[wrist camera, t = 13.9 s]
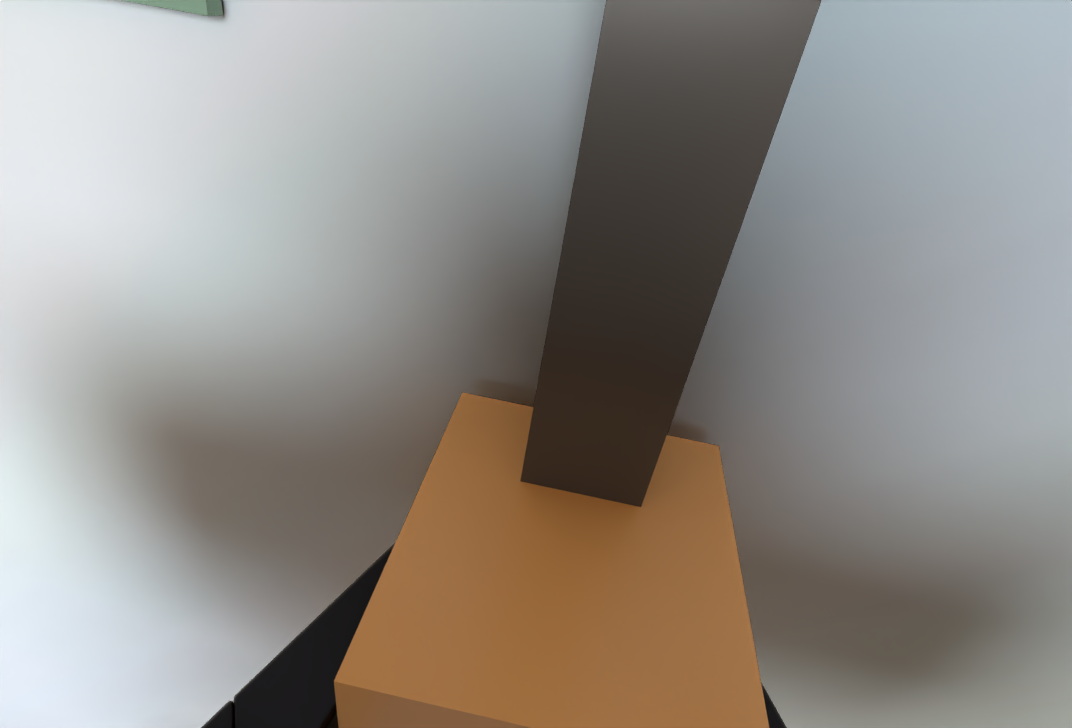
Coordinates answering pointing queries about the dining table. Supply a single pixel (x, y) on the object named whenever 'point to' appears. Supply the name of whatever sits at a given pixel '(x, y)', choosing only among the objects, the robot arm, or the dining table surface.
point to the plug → (600, 428)
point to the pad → (187, 5)
